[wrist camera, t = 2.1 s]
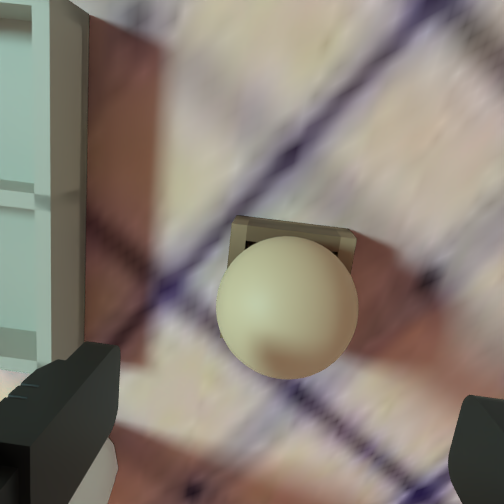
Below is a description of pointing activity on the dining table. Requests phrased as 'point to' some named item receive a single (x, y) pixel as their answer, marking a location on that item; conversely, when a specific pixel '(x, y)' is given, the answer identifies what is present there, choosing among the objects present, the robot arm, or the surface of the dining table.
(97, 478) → the foam cup
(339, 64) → the dining table surface
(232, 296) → the beige sphere
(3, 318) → the egg carton
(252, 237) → the egg stand
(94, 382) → the robot arm
